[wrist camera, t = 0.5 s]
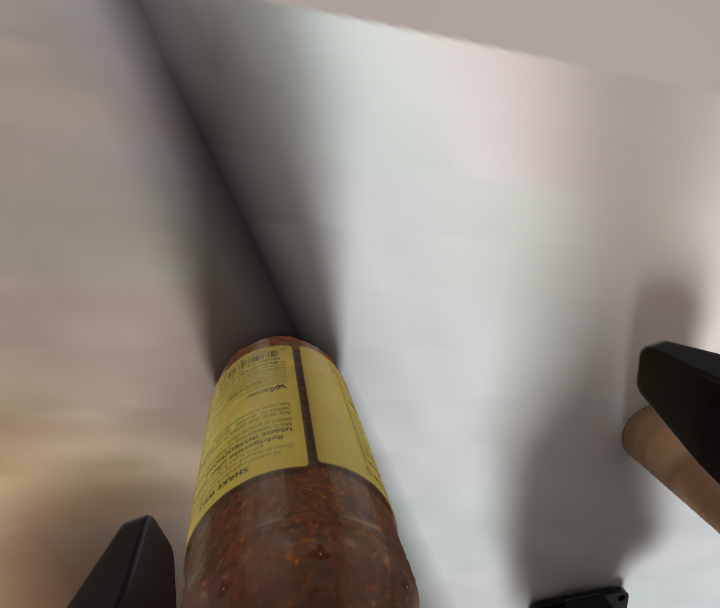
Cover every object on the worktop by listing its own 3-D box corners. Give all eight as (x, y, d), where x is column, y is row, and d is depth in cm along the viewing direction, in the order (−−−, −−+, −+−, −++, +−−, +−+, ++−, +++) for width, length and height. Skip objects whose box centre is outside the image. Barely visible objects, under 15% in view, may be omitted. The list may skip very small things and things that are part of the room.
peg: (672, 453, 29) (808, 559, 22) (618, 461, 29) (739, 572, 21) (681, 401, 28) (827, 493, 21) (625, 409, 28) (755, 506, 20)
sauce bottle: (204, 435, 24) (-41, 1421, 5) (229, 317, 23) (0, 1140, 4) (333, 452, 26) (488, 1278, 7) (365, 343, 24) (673, 1030, 5)
